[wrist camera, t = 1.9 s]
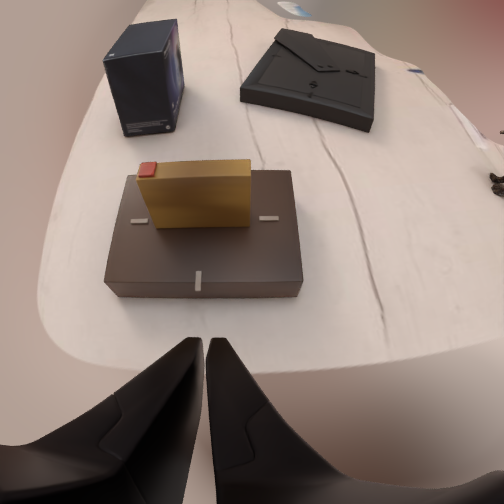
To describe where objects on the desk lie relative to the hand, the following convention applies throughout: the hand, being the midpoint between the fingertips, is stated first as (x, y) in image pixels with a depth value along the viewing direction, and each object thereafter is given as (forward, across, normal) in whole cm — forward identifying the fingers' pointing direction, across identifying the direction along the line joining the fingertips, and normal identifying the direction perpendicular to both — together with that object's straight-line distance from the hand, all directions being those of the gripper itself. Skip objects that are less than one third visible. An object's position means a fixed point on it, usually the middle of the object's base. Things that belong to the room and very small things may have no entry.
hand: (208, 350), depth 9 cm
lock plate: (+18, +2, +1) cm, 18 cm away
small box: (+31, +10, -12) cm, 35 cm away
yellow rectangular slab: (+16, +2, -1) cm, 16 cm away
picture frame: (+37, -12, -17) cm, 42 cm away
